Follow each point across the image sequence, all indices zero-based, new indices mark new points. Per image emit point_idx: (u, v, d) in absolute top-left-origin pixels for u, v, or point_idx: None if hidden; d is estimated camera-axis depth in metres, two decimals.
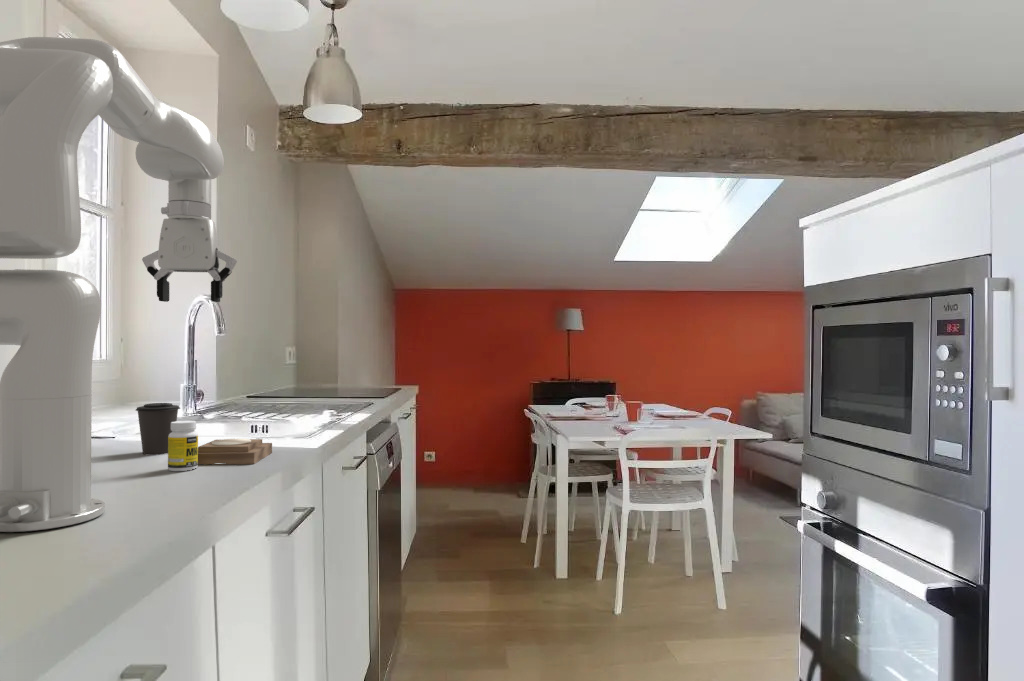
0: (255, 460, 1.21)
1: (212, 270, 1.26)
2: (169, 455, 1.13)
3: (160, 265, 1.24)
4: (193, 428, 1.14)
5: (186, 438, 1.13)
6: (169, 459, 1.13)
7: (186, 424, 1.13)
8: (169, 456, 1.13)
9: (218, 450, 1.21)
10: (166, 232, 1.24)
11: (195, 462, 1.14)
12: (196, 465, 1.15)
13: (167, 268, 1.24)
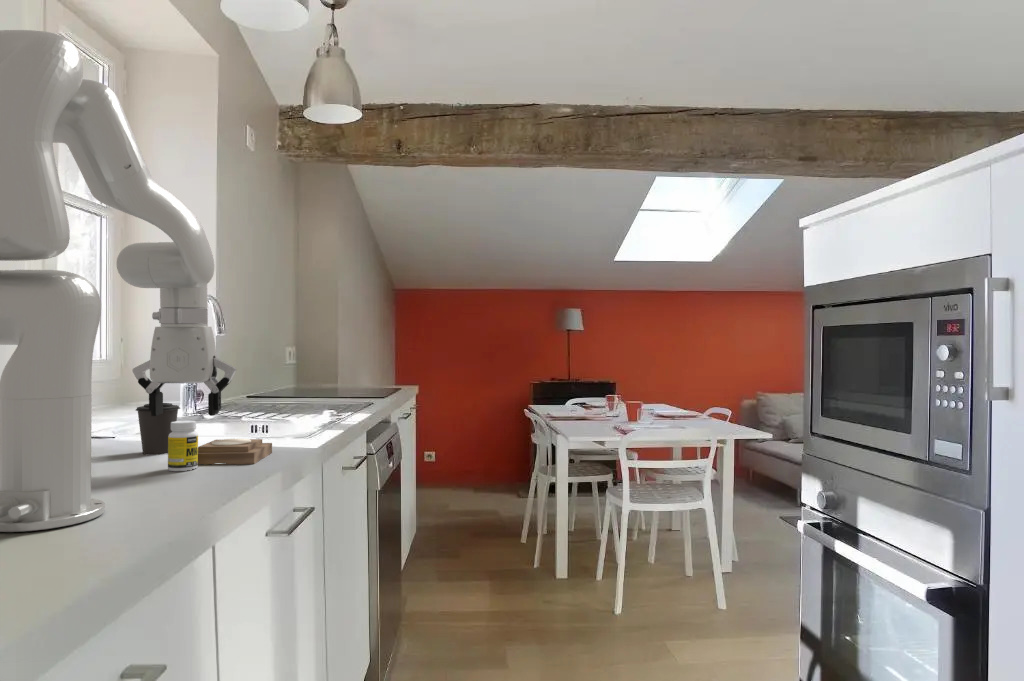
0: (255, 460, 1.21)
1: (209, 381, 1.14)
2: (169, 455, 1.13)
3: (152, 378, 1.12)
4: (193, 428, 1.14)
5: (186, 438, 1.13)
6: (169, 459, 1.13)
7: (186, 424, 1.13)
8: (169, 456, 1.13)
9: (218, 450, 1.21)
10: (158, 342, 1.12)
11: (195, 462, 1.14)
12: (196, 465, 1.15)
13: (160, 382, 1.12)
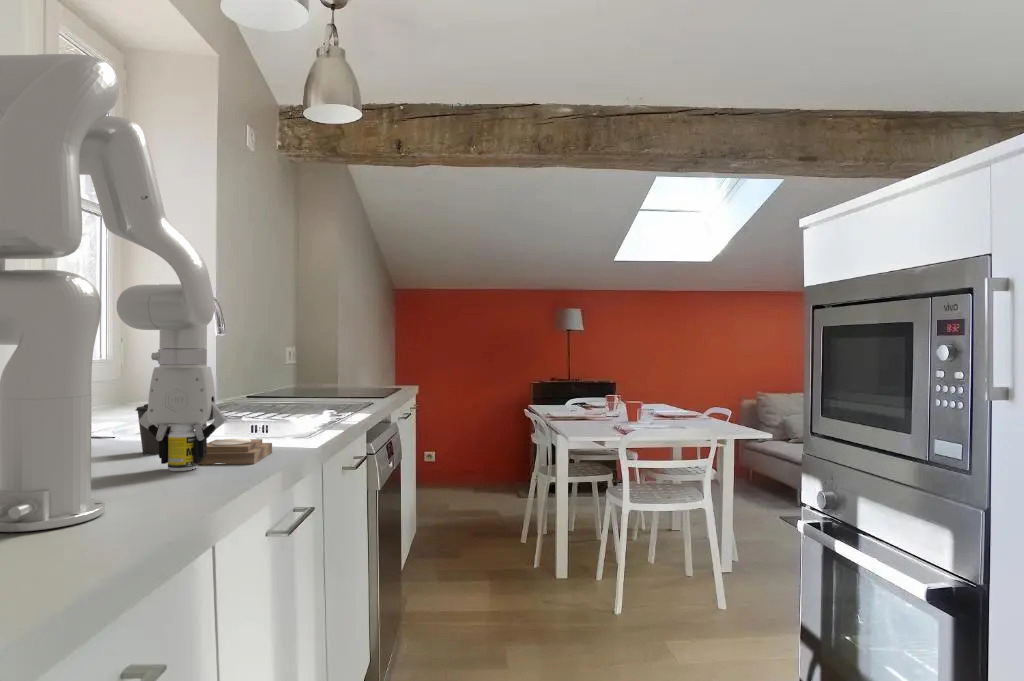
0: (255, 460, 1.21)
1: (199, 427, 1.14)
2: (169, 455, 1.13)
3: (150, 420, 1.12)
4: (193, 428, 1.14)
5: (186, 438, 1.13)
6: (169, 458, 1.13)
7: (186, 424, 1.13)
8: (169, 456, 1.13)
9: (218, 450, 1.21)
10: (157, 383, 1.12)
11: None
12: (196, 465, 1.15)
13: (158, 423, 1.12)
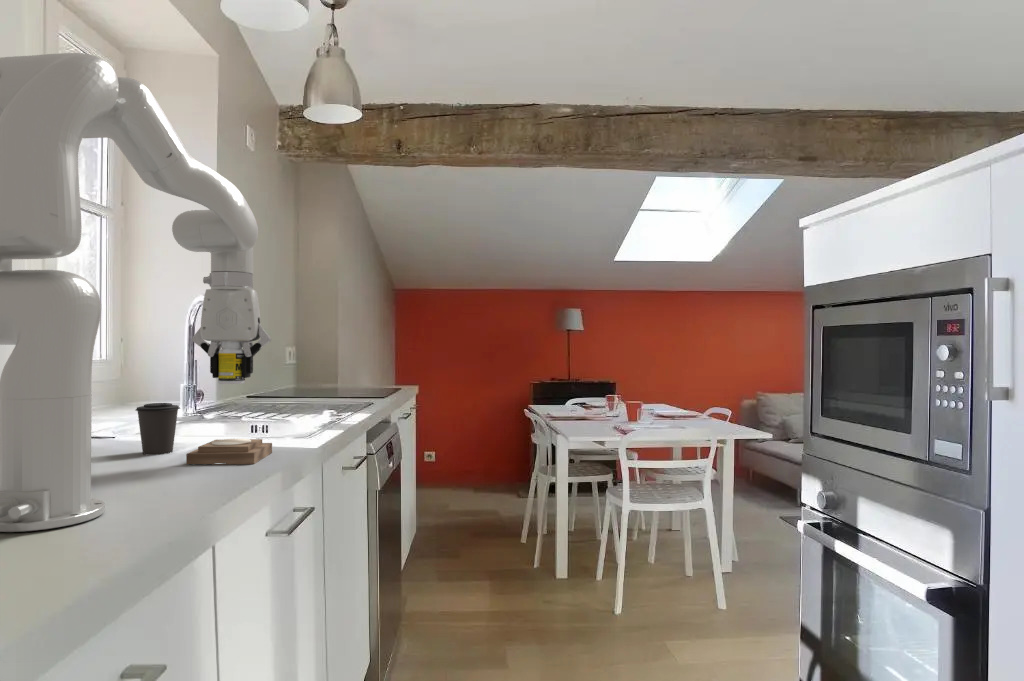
0: (255, 460, 1.21)
1: (247, 345, 1.24)
2: (220, 369, 1.23)
3: (203, 336, 1.22)
4: (241, 346, 1.25)
5: (235, 353, 1.23)
6: (220, 373, 1.23)
7: (235, 341, 1.24)
8: (220, 370, 1.23)
9: (218, 450, 1.21)
10: (209, 303, 1.22)
11: None
12: (244, 380, 1.25)
13: (210, 340, 1.22)
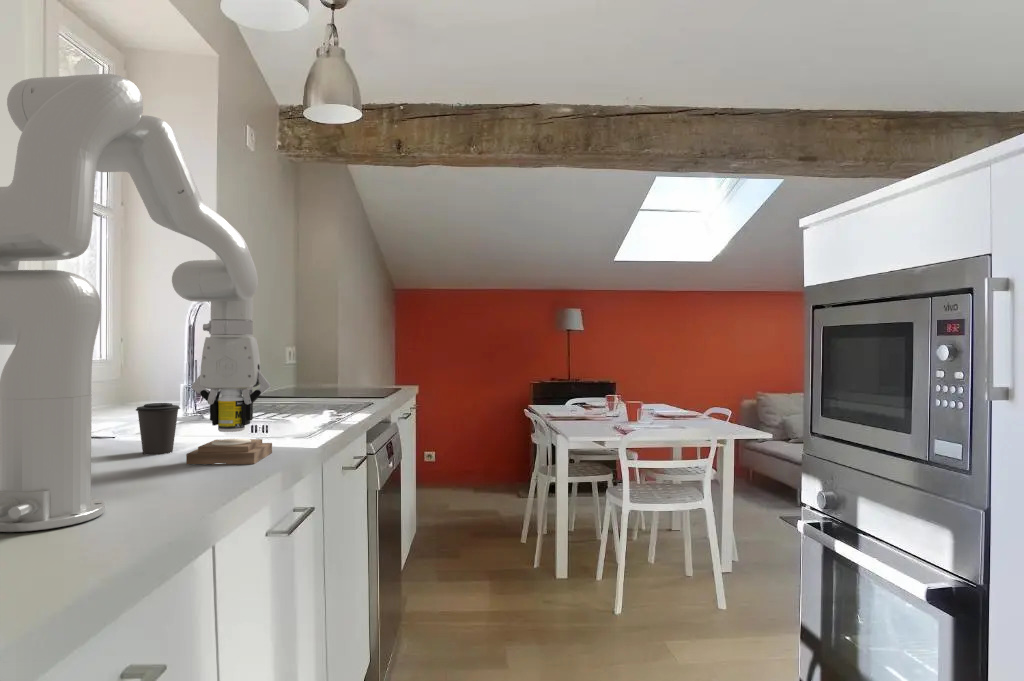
0: (255, 460, 1.21)
1: (246, 392, 1.24)
2: (219, 417, 1.23)
3: (202, 385, 1.22)
4: (241, 393, 1.25)
5: (235, 401, 1.23)
6: (220, 420, 1.23)
7: (235, 389, 1.24)
8: (219, 418, 1.23)
9: (218, 450, 1.21)
10: (208, 351, 1.22)
11: None
12: (243, 427, 1.25)
13: (209, 388, 1.22)
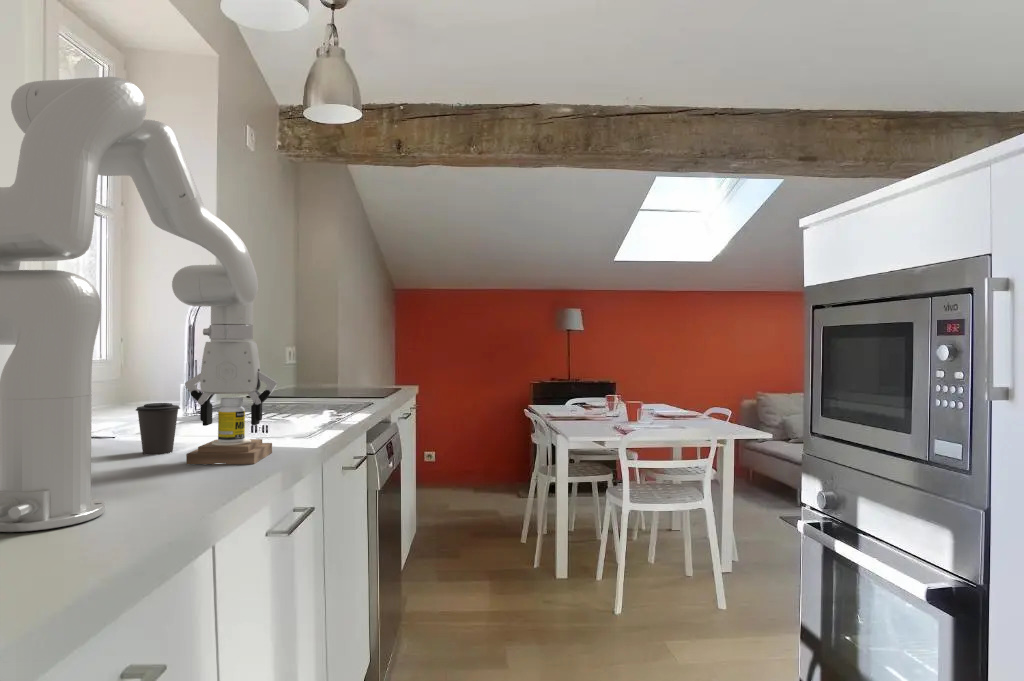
0: (255, 460, 1.21)
1: (253, 393, 1.24)
2: (219, 428, 1.23)
3: (202, 389, 1.22)
4: (241, 404, 1.25)
5: (235, 412, 1.23)
6: (220, 431, 1.23)
7: (235, 400, 1.24)
8: (219, 429, 1.23)
9: (218, 450, 1.21)
10: (209, 356, 1.22)
11: (242, 435, 1.25)
12: (243, 438, 1.25)
13: (209, 392, 1.22)
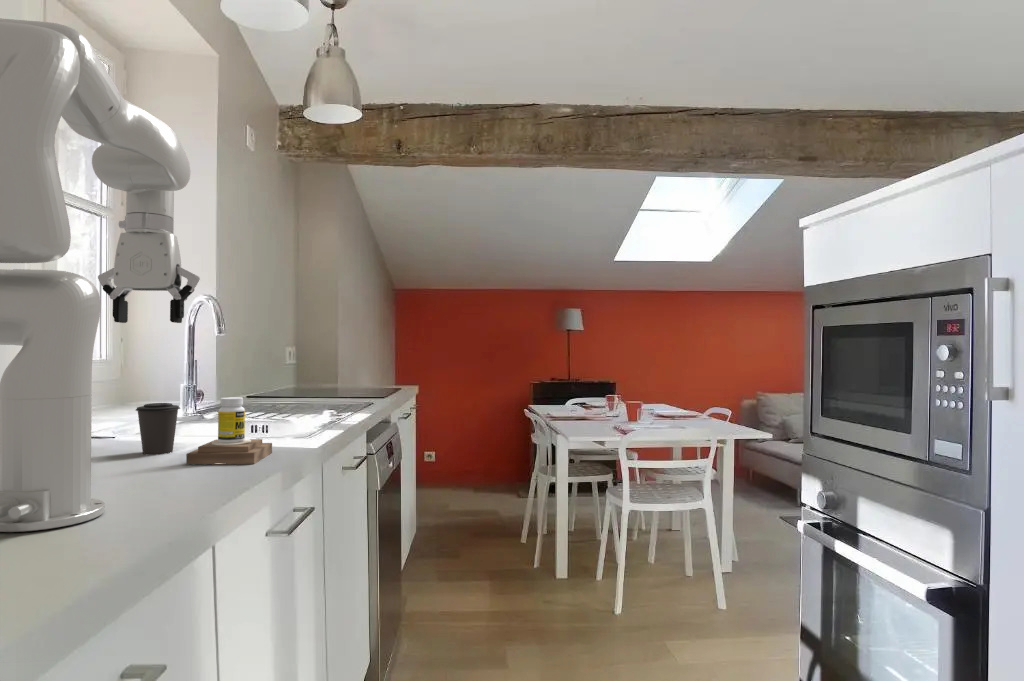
0: (255, 460, 1.21)
1: (172, 288, 1.15)
2: (219, 428, 1.23)
3: (115, 283, 1.14)
4: (241, 404, 1.25)
5: (235, 412, 1.23)
6: (220, 431, 1.23)
7: (235, 400, 1.24)
8: (219, 429, 1.23)
9: (218, 450, 1.21)
10: (122, 247, 1.14)
11: (242, 435, 1.25)
12: (243, 438, 1.25)
13: (123, 286, 1.14)
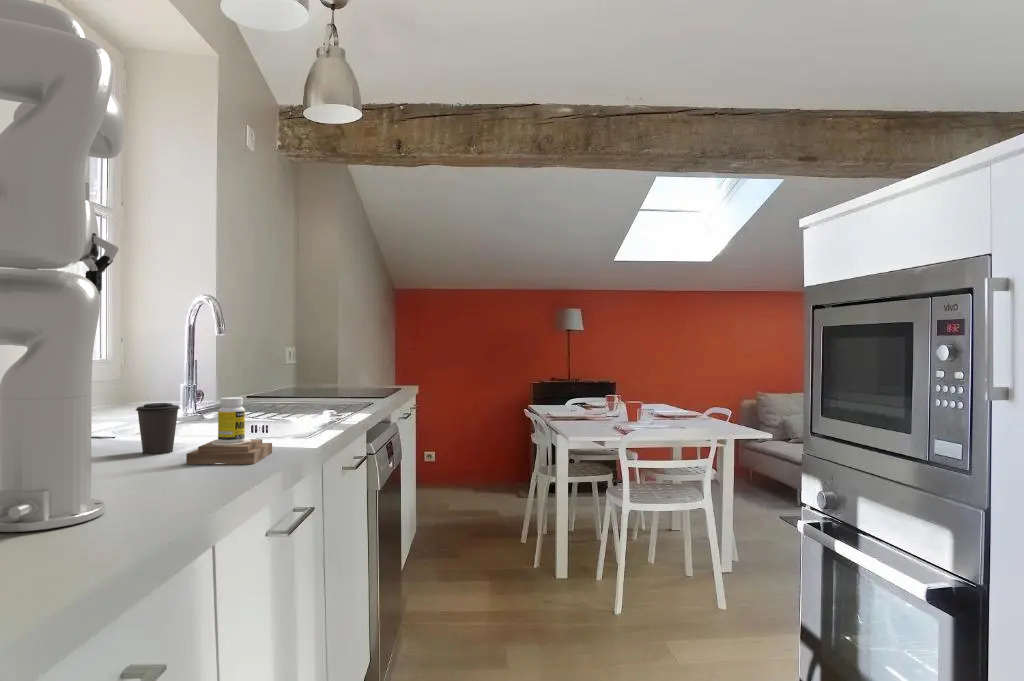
0: (255, 460, 1.21)
1: (87, 258, 1.08)
2: (219, 428, 1.23)
3: None
4: (241, 404, 1.25)
5: (235, 412, 1.23)
6: (220, 431, 1.23)
7: (235, 400, 1.24)
8: (219, 429, 1.23)
9: (218, 450, 1.21)
10: None
11: (242, 435, 1.25)
12: (243, 438, 1.25)
13: None
